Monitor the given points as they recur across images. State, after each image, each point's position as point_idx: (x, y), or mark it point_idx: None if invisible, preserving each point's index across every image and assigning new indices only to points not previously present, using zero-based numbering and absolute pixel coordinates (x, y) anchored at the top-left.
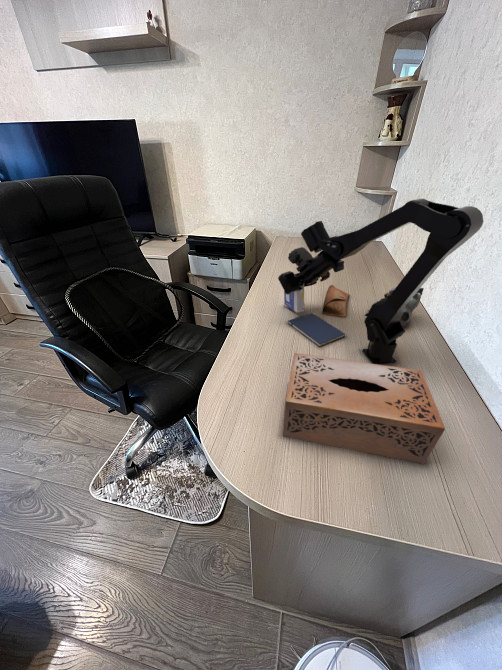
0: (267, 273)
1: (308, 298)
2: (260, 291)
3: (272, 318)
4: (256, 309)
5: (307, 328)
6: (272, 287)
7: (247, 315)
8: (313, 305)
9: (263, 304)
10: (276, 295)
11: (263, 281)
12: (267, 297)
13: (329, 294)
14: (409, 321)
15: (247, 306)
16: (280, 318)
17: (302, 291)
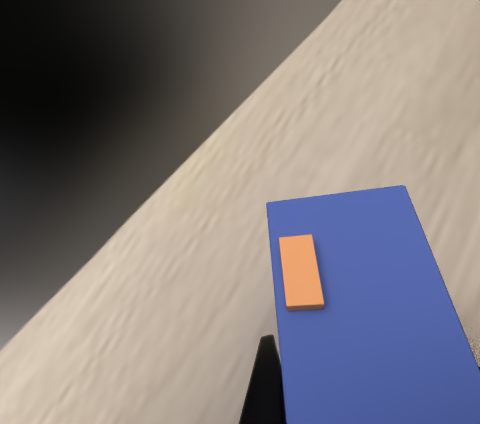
0: (353, 9)
1: (471, 262)
2: (254, 121)
3: (163, 382)
4: (151, 255)
5: None
6: (321, 105)
7: (86, 289)
8: (476, 361)
9: (205, 226)
10: (304, 172)
11: (307, 56)
12: (255, 175)
13: None
14: None
15: (136, 215)
16: (200, 408)
17: None
